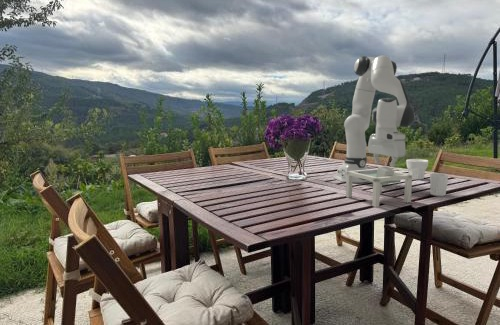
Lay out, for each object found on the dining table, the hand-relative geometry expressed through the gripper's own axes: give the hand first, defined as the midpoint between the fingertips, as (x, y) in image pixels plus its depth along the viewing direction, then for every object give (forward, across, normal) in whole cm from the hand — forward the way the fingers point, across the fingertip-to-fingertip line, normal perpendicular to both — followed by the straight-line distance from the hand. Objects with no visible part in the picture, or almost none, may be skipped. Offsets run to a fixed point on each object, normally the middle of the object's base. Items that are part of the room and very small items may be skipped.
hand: (384, 165), depth 170 cm
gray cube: (+6, 0, 0) cm, 6 cm away
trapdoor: (+8, -5, 0) cm, 10 cm away
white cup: (+17, 0, +34) cm, 38 cm away
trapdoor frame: (+17, -4, 0) cm, 17 cm away
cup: (+17, -37, +58) cm, 71 cm away
